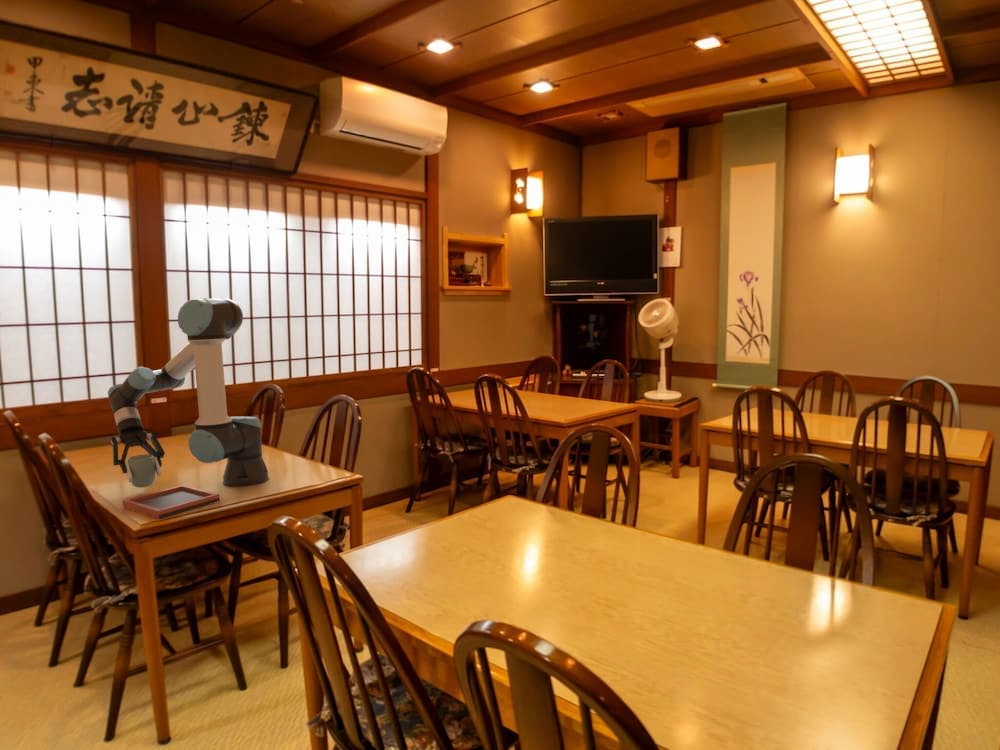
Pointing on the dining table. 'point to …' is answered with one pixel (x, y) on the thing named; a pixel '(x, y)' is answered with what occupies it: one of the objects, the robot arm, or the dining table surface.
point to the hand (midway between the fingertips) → (145, 477)
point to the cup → (142, 470)
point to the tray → (171, 501)
